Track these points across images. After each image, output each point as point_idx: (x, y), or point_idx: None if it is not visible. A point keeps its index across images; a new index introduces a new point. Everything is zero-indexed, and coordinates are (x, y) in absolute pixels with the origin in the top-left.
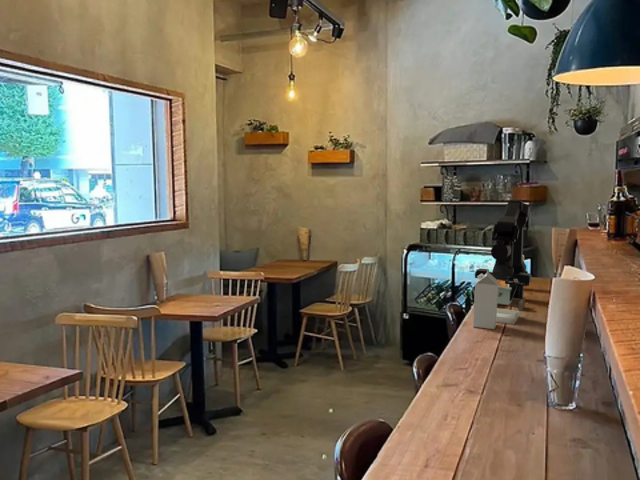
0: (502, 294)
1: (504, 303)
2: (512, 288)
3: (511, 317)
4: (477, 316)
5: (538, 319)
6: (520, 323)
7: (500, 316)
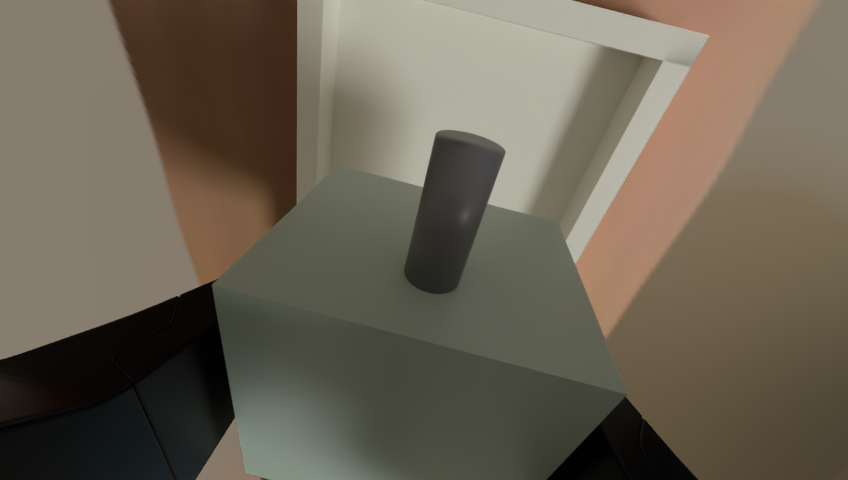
0: (399, 262)
1: (390, 185)
2: (132, 360)
3: (356, 165)
4: None
5: (191, 208)
6: (275, 28)
7: (457, 1)
